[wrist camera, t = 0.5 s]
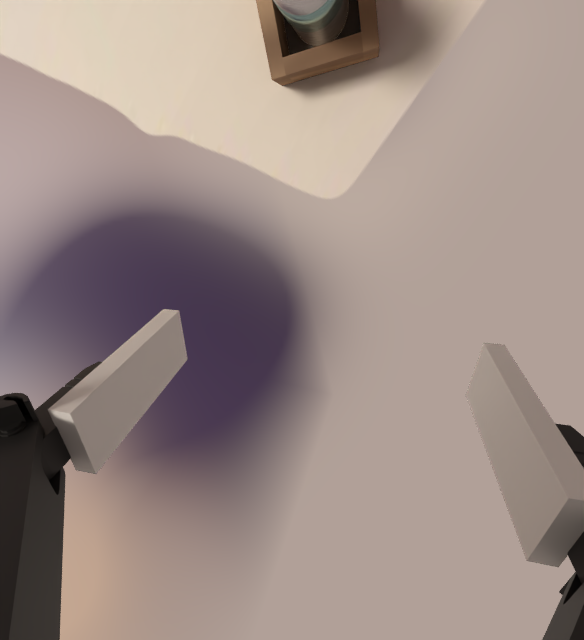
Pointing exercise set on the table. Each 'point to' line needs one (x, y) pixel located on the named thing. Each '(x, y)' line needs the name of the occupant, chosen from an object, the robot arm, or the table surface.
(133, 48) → the table surface
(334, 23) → the transparent cylindrical container
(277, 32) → the holder
